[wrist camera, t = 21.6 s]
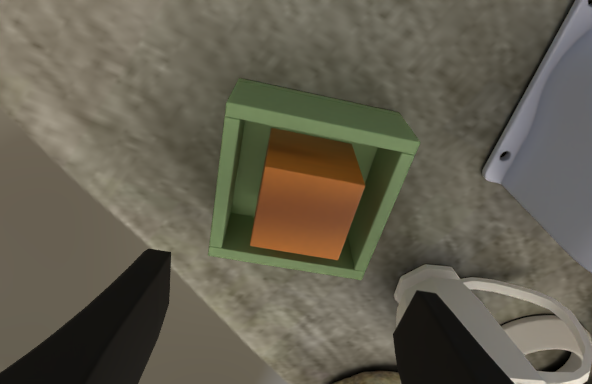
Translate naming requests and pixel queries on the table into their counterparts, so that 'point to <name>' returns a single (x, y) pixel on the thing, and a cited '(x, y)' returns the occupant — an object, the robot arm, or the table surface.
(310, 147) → the block
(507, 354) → the cup
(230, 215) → the bin
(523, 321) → the ring
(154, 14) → the table surface
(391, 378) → the stone ring
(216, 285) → the table surface
